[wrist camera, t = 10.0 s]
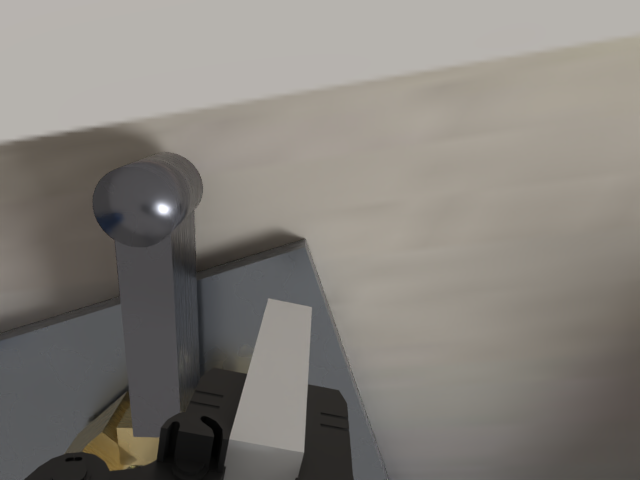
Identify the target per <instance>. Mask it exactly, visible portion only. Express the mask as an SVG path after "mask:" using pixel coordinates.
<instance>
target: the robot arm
mask: <svg viewBox="0 0 640 480" xmlns="http://www.w3.org/2000/svg"><path fill="white" fill-rule="evenodd" d="M311 315H312V307H309V306H304V305H299V304H294V303H289V302H284V301H280V300H275V299H270V298H268V302H267V305H266V309H265V312H264V316H263V320H262V323H261V327H260V330H259V334H258V338H257V341H256V345H255V348H254V352H253V355H252V359H251V363H250V366H249V370H248V373H247V374H245V373H240V372H234V371H229V370H224V369H219V368H212V369H211V370H209V371H208V372H207V373H206V374H204V375H203V376H202V377H201V378H200V380H199V382H198V385H197V387H196V389H195V392H194V394H193V396H192V398H191V400H190V404H189V405H188V407H187V409H186V412H182V413H178V414H176V415H174V416H173V417H171V418H169V419H168V420H167V421H166V422H165V423H164V424H163V426H162V427H161V430H160V438H159V445H158V453H157V460H155V461H154V462H152V463H150V464H147V465H144V466H142V467H137V468H132V469H124V470H113V471H110V470H109V468H108V466H107V464H106V462H105V461H104V460H102V459H101V458H100V457H98V456H97V455H94V454H90V453H85V452H75V453H66V454H63V455H60V456H57V457H54V458H52V459H50V460H49V461H47V462H46V463H44V464H42V465H41V466H39V467H38V468H37V469H36V470H35V471H33V472H32V473H31V474H30V475H29V476H28V477H26V478H25V479H24V480H354V478H353V469H352V457H351V444H350V432H349V420H348V407H347V402H346V401H345V399H344V397H343V396H342V394H341V393H340V391H339V390H336V389H331V388H325V387H320V386H315V385H310V384H308V371H309V352H310V334H311Z"/></svg>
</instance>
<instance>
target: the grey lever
mask: <svg viewBox="0 0 640 480" xmlns="http://www.w3.org/2000/svg"><path fill="white" fill-rule="evenodd" d="M202 193H203V184H202V179H201V177H200V174H199V172H198V171H197V169H196V168H195V166H194V165H193V164H192V163H191V162H190V161H189V160H187V159H186V158H184V157H182V156H180V155H178V154H174V153H168V152H163V153H157V154H154V155H151V156H149V157H146V158H143V159H141V160H138V161H136V162H133V163H130V164H128V165H125V166H123V167H120V168H117V169H115V170H113V171H111V172H109V173H107V174H106V175H105V176H104V177H103V178H102V179H101V180H100V181H99V183H98V184H97V186H96V188H95V191H94V194H93V210H94V214H95V217H96V219H97V221H98V223H99V225H100V226H101V228H102V229H103V230H104V231H105V232H106V233H107V234H108V235H109V236H110V237H111V238H113V239H114V240H115V248H116V259H117V269H118V280H119V291H120V301H121V312H122V322H123V333H124V343H125V354H126V365H127V375H128V386H129V392H128V391H127V392H126V393H124V394H123V395H122V396H121V397H120V398H119V399H118V400H116V401H115V402H114V403H113V404H112V405H111V406H110V407H108V408H107V409H106V410H105V411H104V412H103V413H101V414H100V415H99V416H98V417H97V418H96V419H95V420H93V421H92V422H91V423H90V424H89V425H88V426H87V427H85V428H84V429H83V430H82V431H81V432H80V433H78V435H77V436H76V437H75V439H74V440H73V442H72V443H71V445H70V446H69V448H68V449H67V451H66V452H65V453H64V454H66V453H75V452H85V453H90V454H94V455H97V456H98V457H100V458H101V459H102V460H104V461H105V462H106V464H107V466H108V468H109V470H110V471H113V470H124V469H127V468H128V467H129V466H130V465H147V464H150V463H152V462H154V461H155V460H157V453H158V445H159V438H160V430H161V427H162V426H163V424H164V423H165V422H166V421H167V420H168V419H169V418H171V417H173V416H174V415H176V414H178V413H182V412H186V409H187V407H188V405H189V404H190V400H191V398H192V396H193V394H194V392H195V389H196V387H197V385H198V382H199V380H200V364H199V336H198V307H197V279H196V251H195V223H194V209H195V208H196V207H197V206H198V204H199V203H200V200H201V198H202Z"/></svg>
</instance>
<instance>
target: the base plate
mask: <svg viewBox="0 0 640 480" xmlns="http://www.w3.org/2000/svg"><path fill="white" fill-rule="evenodd" d="M196 279H197V307H198V336H199V364H200V378H201V377H202V376H203V375H204V374H206V373H207V372H208V371H209V370H211V369H212V368H219V369H224V370H229V371H234V372H240V373H245V374H247V373H248V370H249V366H250V363H251V359H252V355H253V352H254V348H255V345H256V341H257V338H258V334H259V330H260V327H261V323H262V320H263V316H264V312H265V309H266V305H267V302H268V298H270V299H275V300H280V301H284V302H289V303H294V304H299V305H304V306H309V307H312V315H311V334H310V352H309V371H308V384H310V385H315V386H320V387H325V388H331V389H336V390H339V391H340V393H341V394H342V396H343V397H344V399H345V401H346V402H347V407H348V420H349V432H350V444H351V457H352V469H353V478H354V480H389V478H388V475H387V472H386V469H385V466H384V464H383V461H382V458H381V455H380V452H379V449H378V446H377V443H376V440H375V438H374V435H373V432H372V429H371V426H370V423H369V420H368V417H367V415H366V412H365V409H364V406H363V403H362V400H361V397H360V394H359V392H358V389H357V386H356V383H355V380H354V377H353V374H352V371H351V368H350V366H349V363H348V360H347V357H346V354H345V351H344V348H343V345H342V343H341V340H340V337H339V334H338V331H337V328H336V325H335V322H334V319H333V317H332V314H331V311H330V308H329V305H328V302H327V299H326V296H325V294H324V291H323V288H322V285H321V282H320V279H319V276H318V273H317V271H316V268H315V265H314V262H313V259H312V256H311V253H310V250H309V247H308V245H307V242H306V239H304V240H300V241H297V242H294V243H291V244H288V245H284V246H281V247H278V248H275V249H271V250H268V251H265V252H262V253H259V254H255V255H252V256H249V257H246V258H242V259H239V260H236V261H233V262H229V263H226V264H223V265H220V266H217V267H213V268H210V269H207V270H204V271H200V272H197V273H196ZM127 391H128V392H129V386H128V375H127V365H126V354H125V343H124V333H123V322H122V312H121V301H120V297H117V298H113V299H110V300H107V301H104V302H100V303H97V304H94V305H91V306H88V307H84V308H81V309H78V310H75V311H71V312H68V313H65V314H62V315H58V316H55V317H52V318H49V319H46V320H42V321H39V322H36V323H33V324H29V325H26V326H23V327H20V328H17V329H13V330H10V331H7V332H4V333H0V480H24V479H25V478H26V477H28V476H29V475H30V474H31V473H32V472H33V471H35V470H36V469H37V468H38V467H39V466H41V465H42V464H44V463H46V462H47V461H49V460H50V459H52V458H54V457H57V456H60V455H63V454H64V453H65V452H66V451H67V449H68V448H69V446H70V445H71V443H72V442H73V440H74V439H75V437H76V436H77V435H78V433H80V432H81V431H82V430H83V429H84V428H85V427H87V426H88V425H89V424H90V423H91V422H92V421H93V420H95V419H96V418H97V417H98V416H99V415H100V414H101V413H103V412H104V411H105V410H106V409H107V408H108V407H110V406H111V405H112V404H113V403H114V402H115V401H116V400H118V399H119V398H120V397H121V396H122V395H123V394H124V393H126V392H127ZM142 466H144V465H130V466H129V467H128V468H127V469H132V468H137V467H142Z"/></svg>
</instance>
